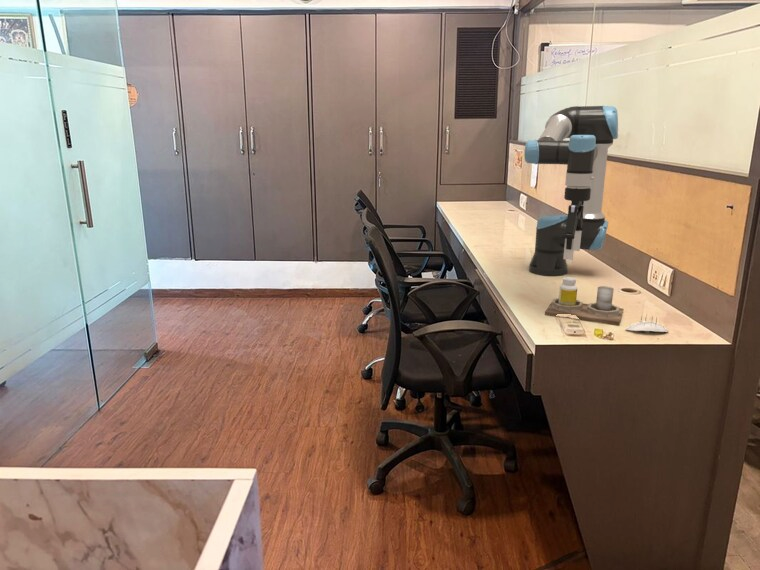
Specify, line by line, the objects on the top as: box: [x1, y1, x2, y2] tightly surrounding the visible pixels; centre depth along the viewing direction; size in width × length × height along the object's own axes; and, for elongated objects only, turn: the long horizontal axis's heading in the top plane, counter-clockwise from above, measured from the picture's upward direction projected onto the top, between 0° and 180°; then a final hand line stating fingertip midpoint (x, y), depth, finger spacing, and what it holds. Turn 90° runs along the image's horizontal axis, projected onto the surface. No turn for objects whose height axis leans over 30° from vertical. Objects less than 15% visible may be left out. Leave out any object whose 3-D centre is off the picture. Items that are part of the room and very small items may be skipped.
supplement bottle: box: [558, 276, 578, 306], centre depth 180 cm, size 5×5×10 cm
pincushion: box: [624, 315, 669, 334], centre depth 164 cm, size 12×6×6 cm, turn 83°
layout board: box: [544, 285, 624, 327], centre depth 178 cm, size 14×22×9 cm, turn 63°
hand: (571, 254), depth 177 cm, fingers open, 13 cm apart
